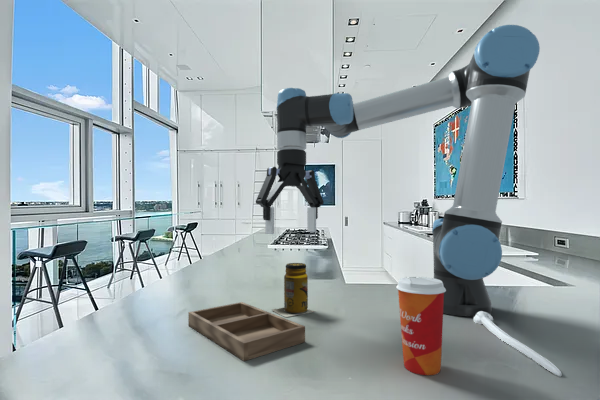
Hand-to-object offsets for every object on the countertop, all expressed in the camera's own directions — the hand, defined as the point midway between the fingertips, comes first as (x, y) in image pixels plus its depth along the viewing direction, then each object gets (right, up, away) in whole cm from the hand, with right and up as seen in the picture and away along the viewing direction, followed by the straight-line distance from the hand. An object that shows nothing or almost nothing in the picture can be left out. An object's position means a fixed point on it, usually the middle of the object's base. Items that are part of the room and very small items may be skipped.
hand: (291, 232), depth 90 cm
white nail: (+43, -19, -23) cm, 53 cm away
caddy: (-10, -19, -17) cm, 27 cm away
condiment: (0, -20, -1) cm, 20 cm away
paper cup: (+22, -19, -33) cm, 44 cm away
